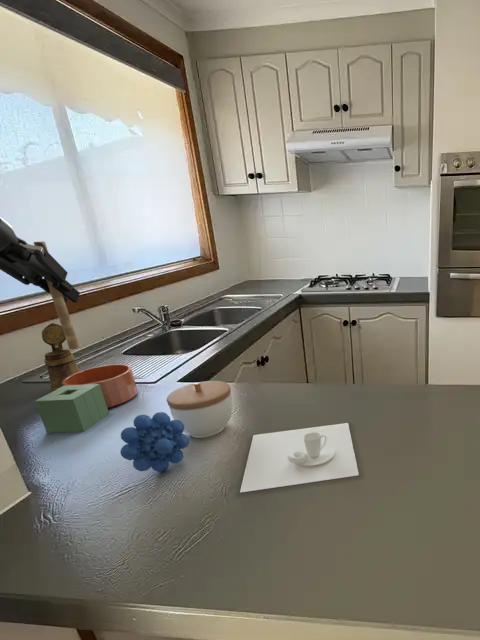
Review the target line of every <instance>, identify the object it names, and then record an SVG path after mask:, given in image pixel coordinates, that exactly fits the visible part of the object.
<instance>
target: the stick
mask: <svg viewBox="0 0 480 640" xmlns="http://www.w3.org/2000/svg"><path fill="white" fill-rule="evenodd" d="M38 243H42V244H43V245H45V248H46V250H47V252H48V253H49V250H48V247H47V244H46V241H44V240H43V241H34V242H33V243H32V244H33V245H34V246H37V244H38ZM46 281H47V284H48V287H49V290H50V293H51V294H50V293H49V294H50V296H51V299H52V301H53V305H54V307H55V311H56V313H57V317H58V320H59V322H60V326H62V328H63V331H64V334H65V337H66V340H65V341H66V343H67V346H68V349H69V350H76V349H79V348H80V344H79V341H78V338H77V335H76V332H75V329H74V326H73V323H72V319H71V316H70V314H69V311H68V307H67V303H65V301H64V298H63V295H62V293H61V292H59V291H58V290H57V289H55V288H54V287H52V285H53V283H51V282H50V281H49V280H47V279H46Z"/></svg>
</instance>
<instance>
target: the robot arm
mask: <svg viewBox="0 0 480 640" xmlns="http://www.w3.org/2000/svg"><path fill="white" fill-rule="evenodd" d="M47 250H48V249H47ZM47 250H46V248H45V245H43V244H42V243H38V244H37V246H34V244H29V243H28V242H27V241H26V240H25V239H22V238H20V237H18V236H17V234H16V232H15V230H14V228H13V226H12V225H11V224H9V223H8V222H7V221H6V220H5V219H3V218H2V217H1V216H0V271H2V272H3V273H5V274H6V275H9V276H10V277H12V278H14V279H15V280H16V281H18V282H20V283H21V284H23V285H25V286H29V285H30V284H32V285H33V286H35V287H38V288H40V289H41V290H43V291H44V292H45V293H48V294H50V295H51V293H50V290H49V287H48V284H47V281H46V279H47V280H49V281H50V282H51V283H53V285H52V287H54V288H55V289H57V290H58V291H59V292H61V293H62V295H63V298H64V301H65V304H67V302H68V300H70V301H71V302H72V303H73V304H75V303H78V301H79V298H80V295H81V292H80V291H79V290H77V289H76V288H75V287H73V284H71V283H70V282H69V281H68V280H67V276H68V273H69V272H68V271H67V270H66V269H65V268H64V267H63V266H62V265H61V264H60V263H59V262H58V261H57V260H56V259H55V258H54V257H53V256H52V255H51V254H50V252H49V251H48V252H47Z"/></svg>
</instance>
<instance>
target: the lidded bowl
mask: <svg viewBox="0 0 480 640" xmlns="http://www.w3.org/2000/svg"><path fill="white" fill-rule="evenodd" d="M166 403H167V405H168V407H169V410H170V414H171V416H172V419H173V420H179V421H181V422H182V423H183V424H184V427H185V428H184V431H183V433H186V434H188V435H190V436H191V437H193V438H197V439H204V438H209V437H213V436H216V435H218V434H219V433H221V432H223V431H224V429H225V428H226V425H227V424H228V423H229V421H230V419H231V417H232V413H233V398H232V390H231V385H230V384H229V383H228V382H225V381H222V380H206V381H205V380H204V381H199V382H198V381H197V382H193V383H189V384H187V385H184V386H181V387H178V388H177V389H175V390H173V391H172V392H170V393H169V394H168V396H167V397H166Z"/></svg>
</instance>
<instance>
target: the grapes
mask: <svg viewBox="0 0 480 640" xmlns="http://www.w3.org/2000/svg"><path fill="white" fill-rule="evenodd" d="M184 428H185V427H184V424H183V423H182V422H181V421H179V420H174V419H173V420H171V416H169V414H167V413H166V412H164V411H159V412H156V413H154V414H153V416H152V417H150V416H149V415H148V414H138V415H137V416H136V417H134V419H133V426H130V427H125V428H124V429H122V431H121V432H120V439H121V440H122V441H123V443H125V444H124V445H123V446H122V447H121V448H120V456H121V457H122V458H123V459H124V460H127V461H133V462H132V466H133V468H134V469H135V470H136V471H139V472H147V471H148V470H150V469H152V470H153V471H154V472H157V473H163V472H166V471H167V470H168V469H169V467H170V463H171V464H179V463H180V462H182V461H183V459H184V456H185V455H184V452H183V451H182V450H183V449H184V450H185V449H186V448H187V447H188V446H189V444H190V438H189V437H188V436H187V435H186V434H184Z"/></svg>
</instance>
